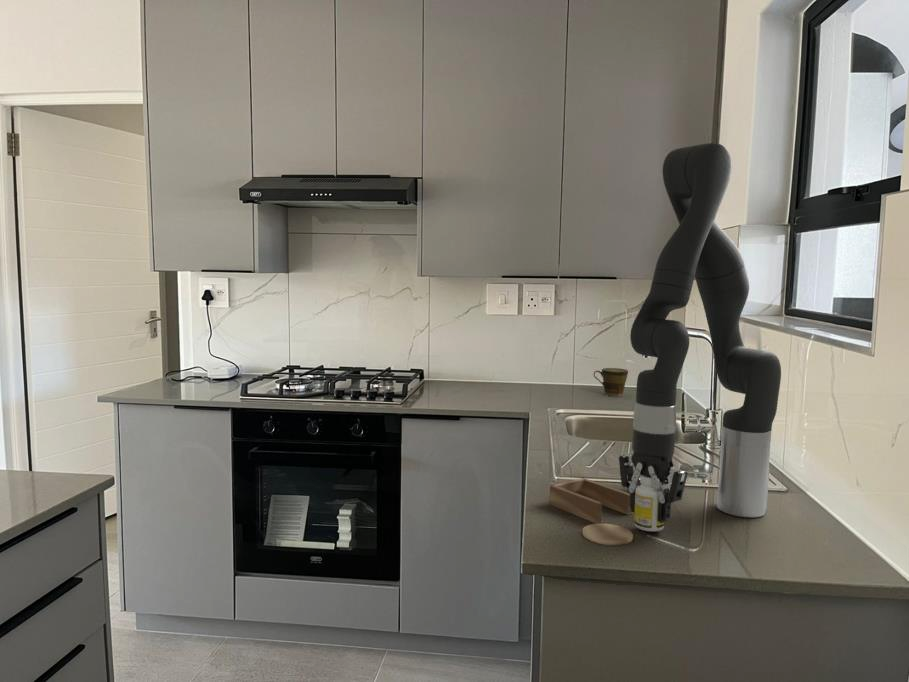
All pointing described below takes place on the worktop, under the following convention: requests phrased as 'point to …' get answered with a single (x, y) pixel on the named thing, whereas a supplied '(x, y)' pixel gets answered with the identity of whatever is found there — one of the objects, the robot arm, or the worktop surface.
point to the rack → (588, 499)
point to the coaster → (607, 534)
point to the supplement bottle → (647, 506)
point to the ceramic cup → (613, 380)
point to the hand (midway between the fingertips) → (649, 516)
